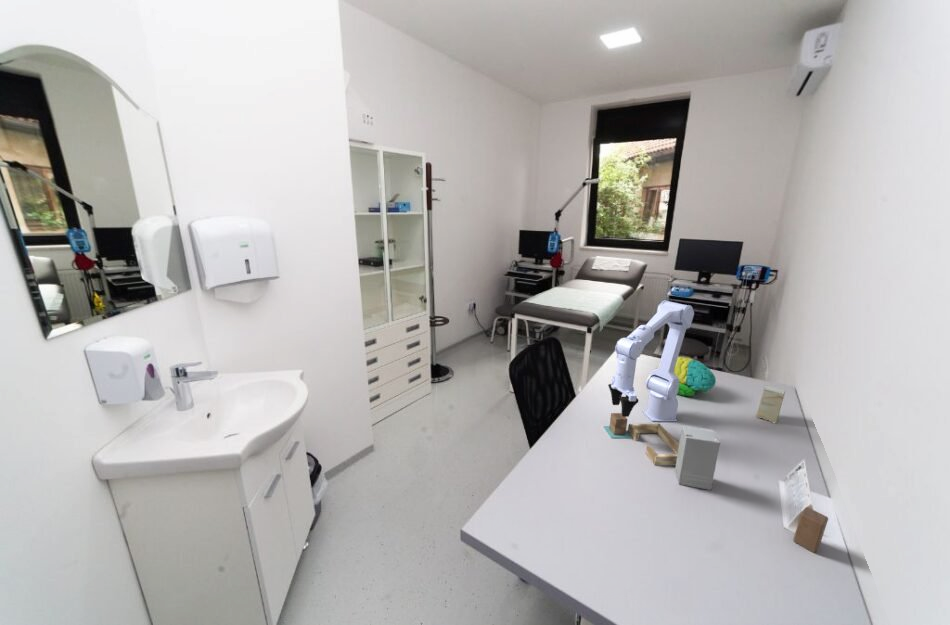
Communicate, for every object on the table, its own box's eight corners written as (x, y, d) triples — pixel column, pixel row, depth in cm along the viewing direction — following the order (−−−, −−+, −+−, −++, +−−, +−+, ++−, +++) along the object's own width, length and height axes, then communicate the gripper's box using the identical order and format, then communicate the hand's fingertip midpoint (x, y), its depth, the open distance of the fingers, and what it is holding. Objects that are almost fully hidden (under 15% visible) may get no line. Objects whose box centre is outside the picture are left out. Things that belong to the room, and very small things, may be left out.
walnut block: (620, 428, 129) (622, 413, 128) (625, 434, 125) (627, 419, 124) (609, 428, 129) (611, 413, 127) (613, 434, 125) (616, 419, 124)
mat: (622, 426, 131) (622, 425, 131) (631, 438, 124) (631, 437, 124) (603, 426, 130) (603, 426, 130) (611, 438, 124) (611, 437, 124)
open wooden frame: (658, 431, 128) (659, 423, 128) (689, 464, 111) (691, 456, 110) (627, 431, 128) (628, 423, 127) (654, 465, 110) (656, 456, 110)
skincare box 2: (755, 417, 139) (763, 388, 136) (757, 413, 142) (764, 384, 139) (776, 424, 135) (784, 394, 132) (778, 419, 138) (785, 390, 135)
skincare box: (705, 476, 106) (715, 428, 102) (711, 493, 99) (722, 442, 96) (672, 469, 109) (681, 422, 105) (677, 485, 102) (686, 435, 98)
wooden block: (792, 541, 85) (800, 513, 83) (797, 533, 87) (806, 505, 85) (814, 554, 82) (824, 525, 80) (819, 545, 84) (829, 516, 82)
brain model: (720, 393, 157) (724, 360, 154) (702, 406, 146) (707, 371, 143) (664, 377, 175) (667, 347, 172) (644, 387, 164) (647, 355, 161)
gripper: (604, 365, 128) (600, 399, 132) (623, 383, 114) (617, 421, 118) (624, 365, 129) (619, 399, 132) (645, 383, 115) (639, 421, 118)
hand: (620, 410), depth 125 cm, fingers open, 7 cm apart
